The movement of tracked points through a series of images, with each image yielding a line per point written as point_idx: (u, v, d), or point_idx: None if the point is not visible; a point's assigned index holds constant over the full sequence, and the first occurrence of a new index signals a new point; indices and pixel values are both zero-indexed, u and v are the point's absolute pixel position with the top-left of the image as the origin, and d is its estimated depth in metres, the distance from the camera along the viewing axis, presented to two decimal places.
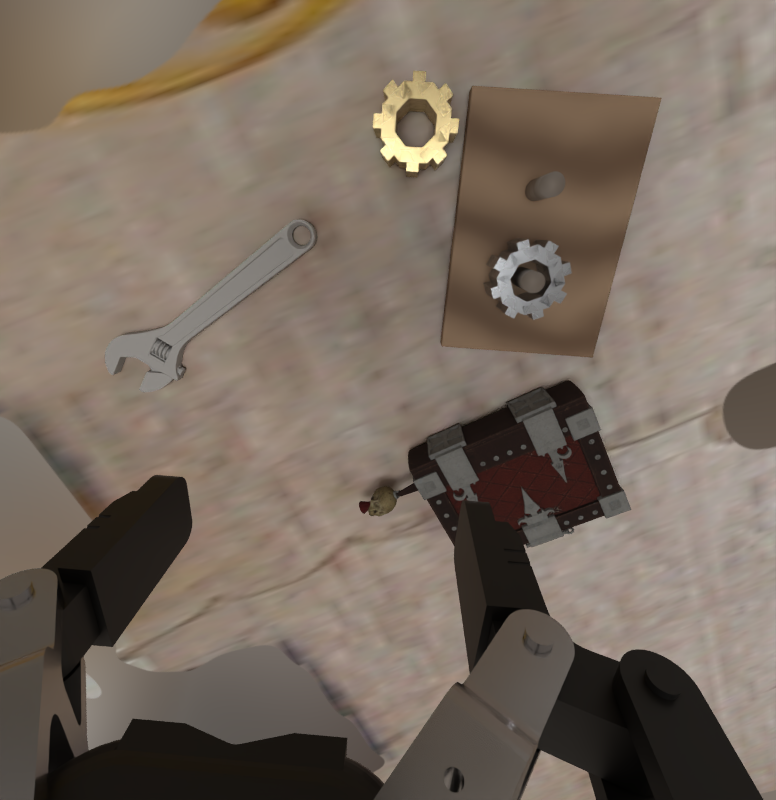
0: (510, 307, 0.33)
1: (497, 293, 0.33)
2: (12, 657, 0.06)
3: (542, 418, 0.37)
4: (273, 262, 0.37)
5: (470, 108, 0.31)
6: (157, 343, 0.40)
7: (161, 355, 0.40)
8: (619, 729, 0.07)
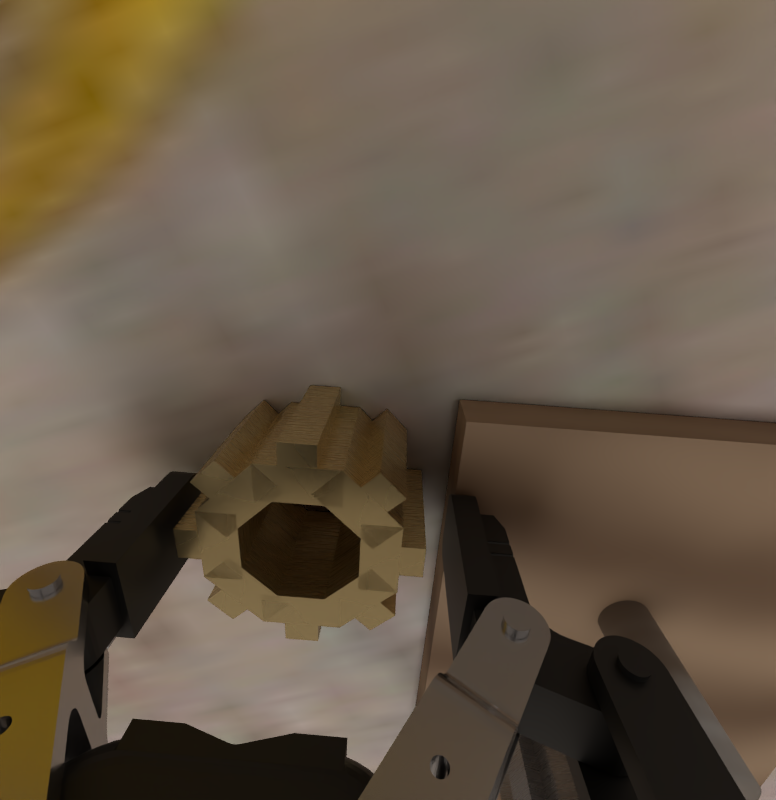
0: None
1: None
2: (37, 648, 0.07)
3: None
4: None
5: (461, 465, 0.11)
6: None
7: None
8: (592, 711, 0.07)
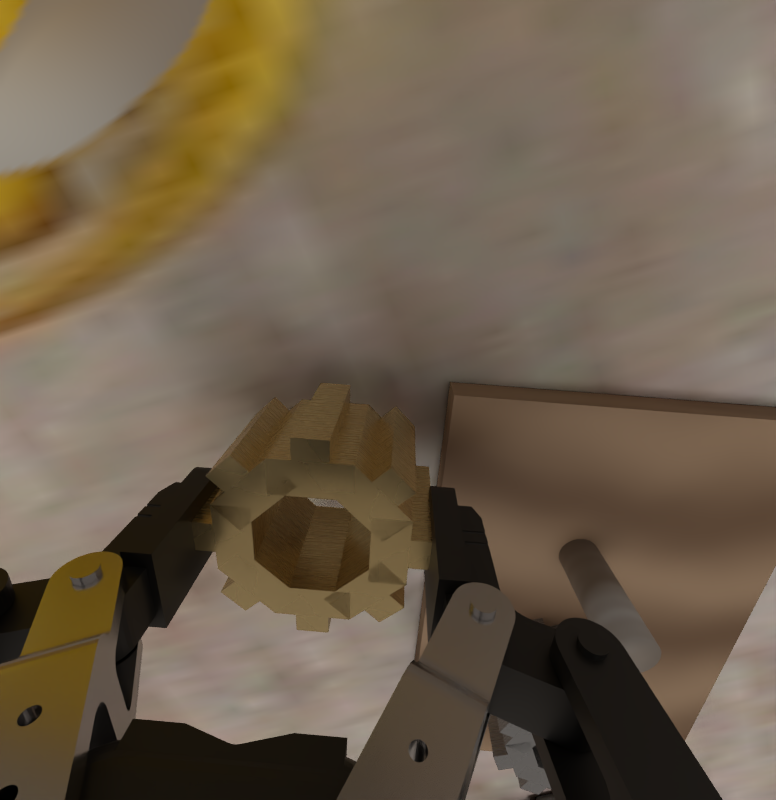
0: (531, 781, 0.17)
1: (506, 764, 0.17)
2: (74, 637, 0.07)
3: None
4: None
5: (451, 429, 0.15)
6: None
7: None
8: (552, 688, 0.07)
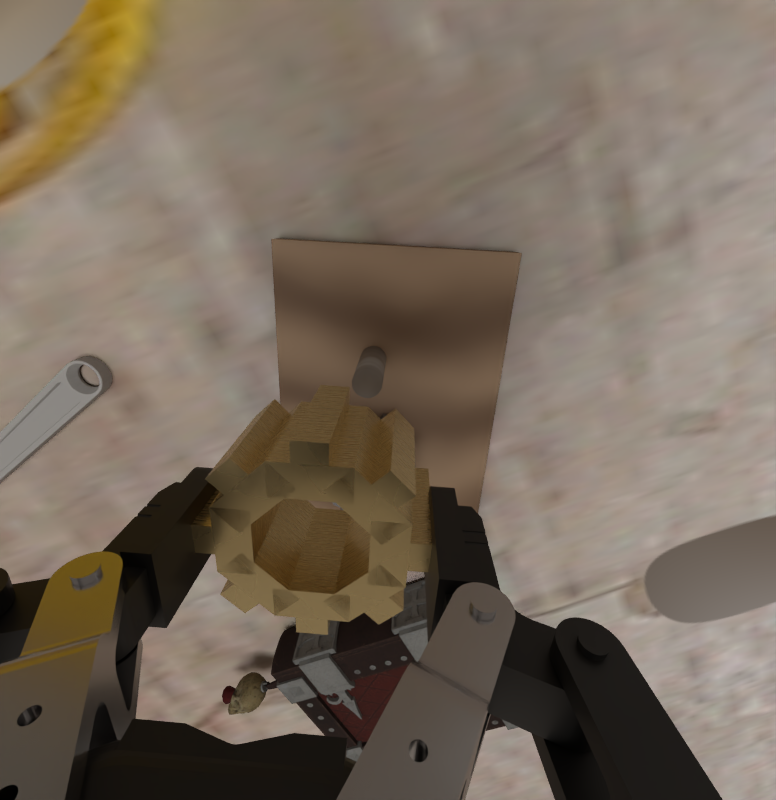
0: None
1: None
2: (74, 637, 0.07)
3: (422, 634, 0.31)
4: (60, 409, 0.29)
5: (274, 264, 0.24)
6: None
7: None
8: (552, 688, 0.07)
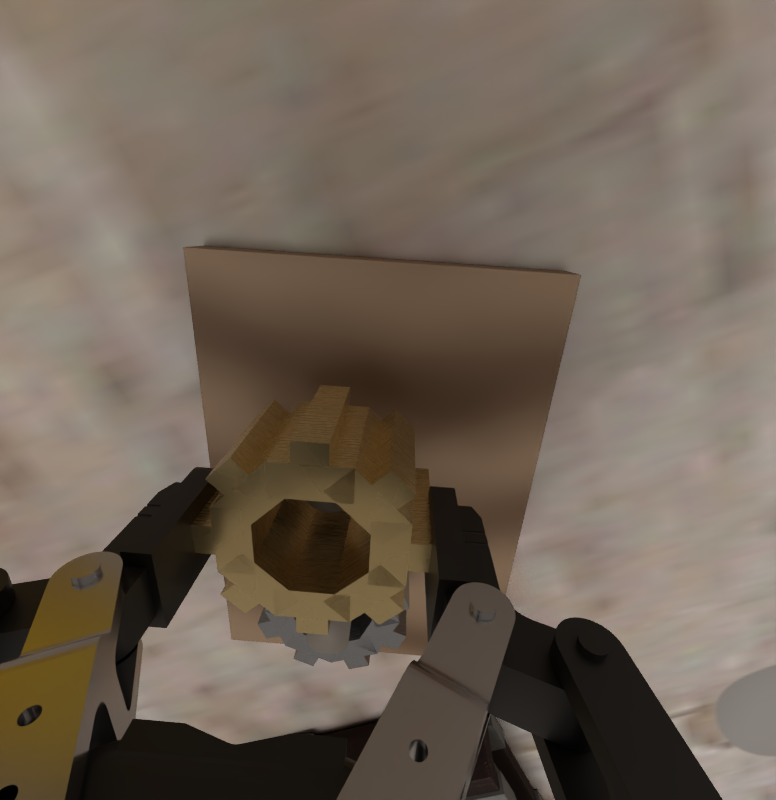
0: (302, 651, 0.17)
1: (272, 631, 0.17)
2: (74, 637, 0.07)
3: None
4: None
5: (191, 287, 0.15)
6: None
7: None
8: (552, 688, 0.07)
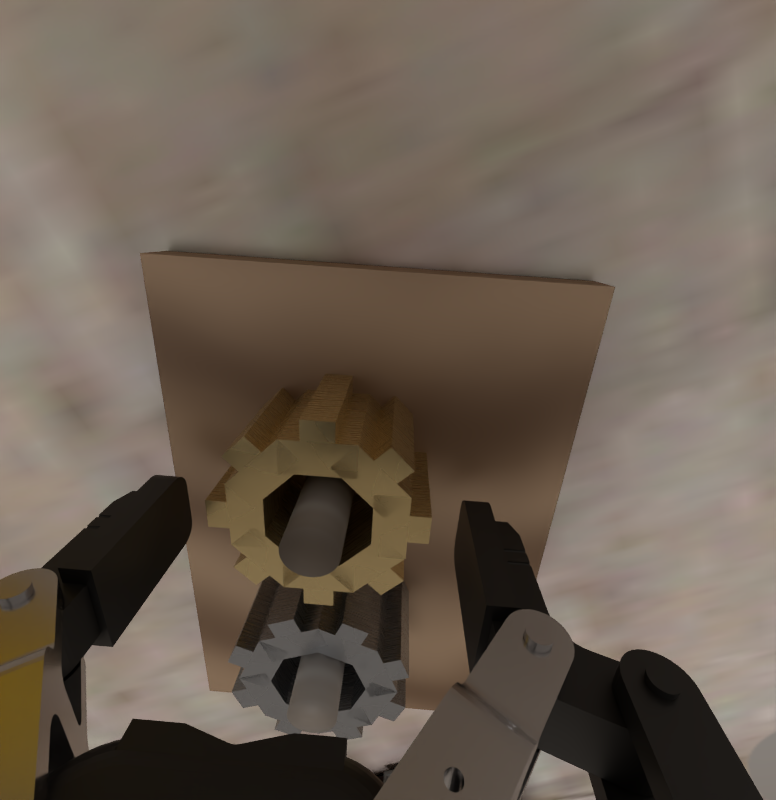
0: (284, 721, 0.15)
1: (249, 700, 0.14)
2: (12, 657, 0.06)
3: None
4: None
5: (150, 300, 0.13)
6: None
7: None
8: (619, 729, 0.07)
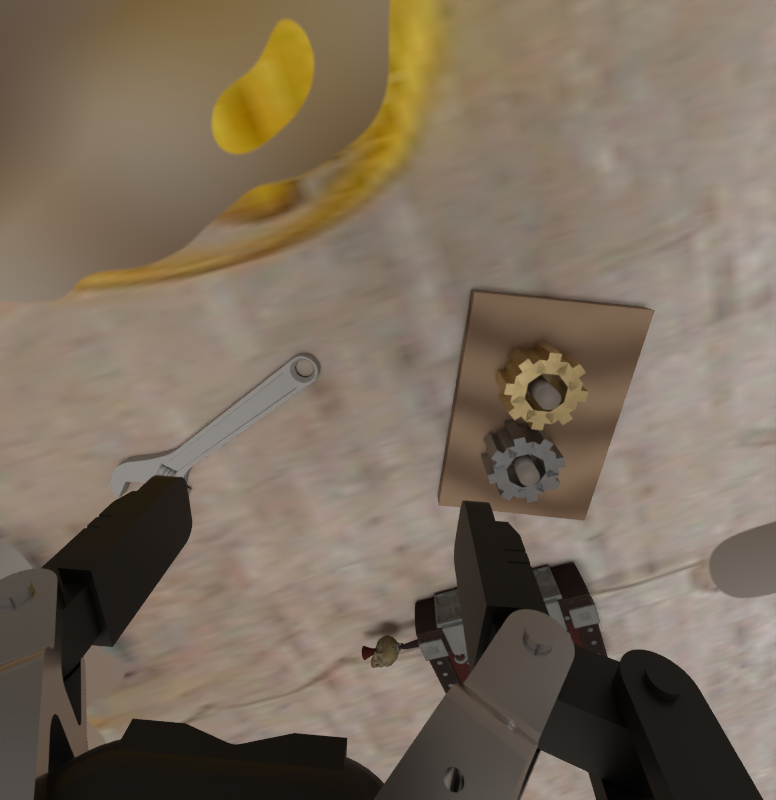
0: (506, 491, 0.34)
1: (493, 479, 0.34)
2: (12, 657, 0.06)
3: (547, 608, 0.40)
4: (276, 394, 0.37)
5: (472, 310, 0.32)
6: (162, 468, 0.40)
7: None
8: (619, 729, 0.07)
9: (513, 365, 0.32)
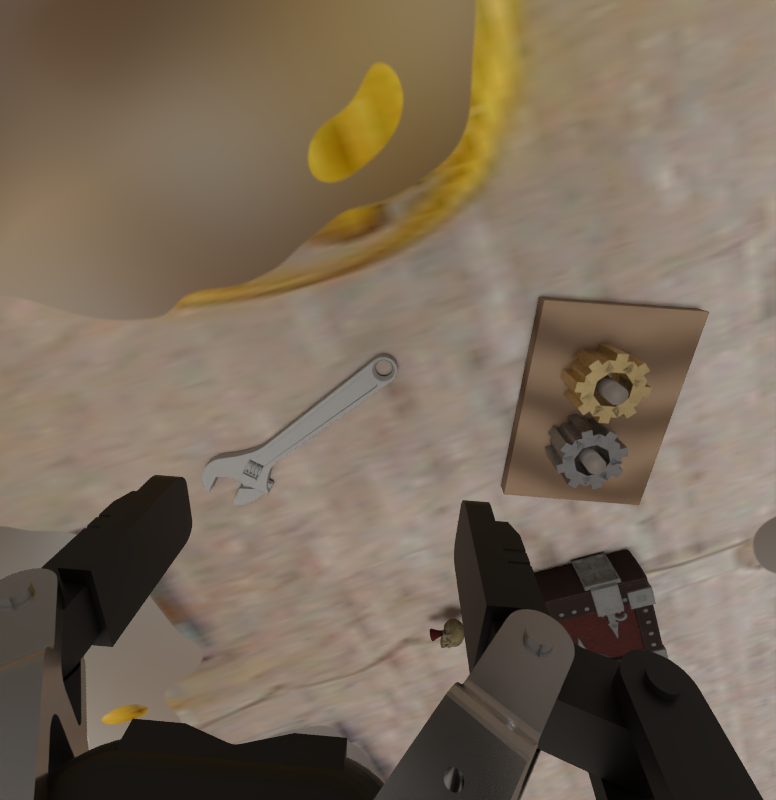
0: (572, 479, 0.38)
1: (562, 469, 0.37)
2: (12, 657, 0.06)
3: (607, 591, 0.43)
4: (358, 392, 0.40)
5: (541, 316, 0.36)
6: (249, 463, 0.43)
7: (253, 473, 0.44)
8: (619, 729, 0.07)
9: (580, 365, 0.36)
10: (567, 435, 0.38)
